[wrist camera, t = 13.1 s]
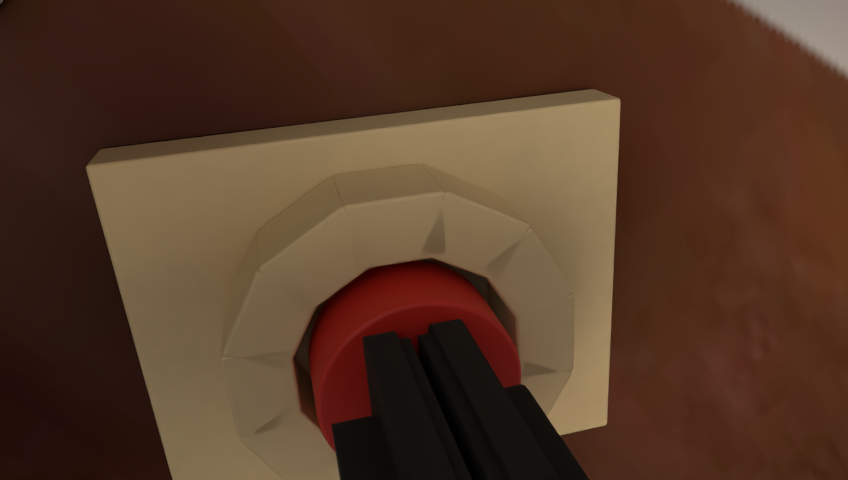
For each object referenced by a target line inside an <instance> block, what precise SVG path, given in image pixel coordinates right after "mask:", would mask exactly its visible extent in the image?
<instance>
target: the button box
mask: <svg viewBox="0 0 848 480" xmlns="http://www.w3.org/2000/svg"><path fill="white" fill-rule="evenodd" d="M620 105H621V101H620V99H619V98H616V97H614V96H611V95H608V94H606V93H603V92H600V91H597V90H595V89H589V90H581V91H572V92H564V93H556V94H548V95H540V96H532V97H523V98H515V99H507V100H499V101H491V102H482V103H474V104H466V105H458V106H450V107H442V108H433V109H425V110H417V111H409V112H401V113H392V114H384V115H376V116H368V117H360V118H351V119H343V120H335V121H327V122H319V123H311V124H302V125H294V126H286V127H278V128H270V129H261V130H253V131H245V132H237V133H229V134H220V135H212V136H204V137H196V138H188V139H180V140H171V141H163V142H155V143H147V144H139V145H130V146H122V147H114V148H106V149H101V150H99V151H98V152H97V154H96V155H95V156H94V157H93V158H92V160H91V161H90V162H89V163H88V164H87V166H86V171H87V175H88V178H89V182H90V185H91V189H92V193H93V196H94V200H95V203H96V207H97V210H98V214H99V218H100V221H101V225H102V228H103V232H104V236H105V239H106V243H107V246H108V250H109V253H110V257H111V261H112V264H113V268H114V271H115V275H116V279H117V282H118V286H119V289H120V293H121V297H122V300H123V304H124V307H125V311H126V314H127V318H128V322H129V325H130V329H131V332H132V336H133V340H134V343H135V347H136V350H137V354H138V357H139V361H140V365H141V368H142V372H143V375H144V379H145V383H146V386H147V390H148V393H149V397H150V401H151V404H152V408H153V411H154V415H155V418H156V422H157V426H158V429H159V433H160V436H161V440H162V444H163V447H164V451H165V454H166V458H167V462H168V465H169V469H170V472H171V476H172V479H173V480H340V477H339V471H338V464H337V458H336V453H335V451H334V450H333V449H332V448H331V447H330V446H329V444H328V442H327V441H326V439H325V438H324V436H323V434H322V431H321V429H320V427H319V423H318V419H317V414H316V407H315V400H314V393H313V386H312V379H311V372H310V365H309V342H310V338H311V333H312V330H313V327H314V325H315V322H316V320H317V318H318V316H319V314H320V312H321V310H322V309H323V308H324V306H325V305H326V303H327V302H328V301H329V299H330V298H331V297H332V296H333V295H334V294H335V293H336V292H337V291H339V290H340V289H341V288H343V287H344V286H346V285H347V284H348V283H350V282H351V281H352V280H354V279H355V278H356V277H358V276H359V275H360V274H362V273H364V272H366V271H368V270H370V269H373V268H375V267H378V266H385V265H391V264H397V263H403V262H409V261H422V262H428V263H434V264H437V265H441V266H444V267H447V268H449V269H451V270H453V271H455V272H457V273H459V274H460V275H462V276H463V277H465V278H466V279H467V280H468V281H469V282H471V283H472V284H473V285H474V286H475V288H476V289H477V290H478V291H479V292H480V294H481V295H482V296H483V298H484V299H485V301H486V302H487V304H488V305H489V307H490V308H491V309H492V311H493V312H494V314H495V315H496V317H497V318H498V320H499V321H500V322H501V324H502V325H503V327H504V328H505V330H506V331H507V333H508V334H509V336H510V337H511V339H512V341H513V342H514V345H515V347H516V349H517V352H518V355H519V359H520V364H521V384H522V385H525V386H526V387H527V388H528V389H529V391H530V392H531V394H532V395H533V397H534V398H535V400H536V401H537V403H538V404H539V406H540V407H541V409H542V410H543V411H544V413H545V414H546V416H547V417H548V419H549V420H550V422H551V423H552V425H553V426H554V428H555V429H556V431H557V432H558V434H559V435H564V434H569V433H573V432H578V431H582V430H587V429H591V428H596V427H600V426H605V425H606V424H607V410H608V387H609V363H610V340H611V316H612V293H613V269H614V246H615V222H616V199H617V176H618V152H619V129H620Z"/></svg>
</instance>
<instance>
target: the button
mask: <svg viewBox="0 0 848 480" xmlns="http://www.w3.org/2000/svg"><path fill="white" fill-rule="evenodd" d="M455 319H462V321H463V322H464V324H465V325H466V327H467V328H468V330H469V332H470V333H471V335H472V337H473V338H474V340H475V342H476V343H477V345H478V346H479V348H480V350H481V351H482V353H483V355H484V356H485V358H486V359H487V361H488V363H489V364H490V366H491V368H492V369H493V371H494V372H495V374H496V376H497V377H498V379H499V381H500V382H501V384H502V386H503V387H504V388H505V387H510V386H515V385H519V384H521V364H520V359H519V355H518V352H517V349H516V347H515V345H514V342H513V341H512V339H511V337H510V336H509V334H508V333H507V331H506V330H505V328H504V327H503V325H502V324H501V322H500V321H499V320H498V318H497V317H496V315H495V314H494V312H493V311H492V309H491V308H490V307H489V305H488V304H487V302H486V301H485V299H484V298H483V296H482V295H481V294H480V292H479V291H478V290H477V289H476V288H475V286H474V285H473V284H472V283H471V282H469V281H468V280H467V279H466V278H465V277H463V276H462V275H460V274H459V273H457V272H455V271H453V270H451V269H449V268H447V267H444V266H441V265H437V264H434V263H428V262H422V261H409V262H403V263H397V264H391V265H385V266H378V267H375V268H373V269H370V270H368V271H366V272H364V273H362V274H360V275H359V276H358V277H356V278H355V279H354V280H352V281H351V282H350V283H348V284H347V285H346V286H344V287H343V288H341V289H340V290H339V291H337V292H336V293H335V294H334V295H333V296H332V297H331V298H330V299H329V301H328V302H327V303H326V305H325V306H324V308H323V309H322V310H321V312H320V314H319V316H318V318H317V320H316V322H315V325H314V327H313V330H312V333H311V338H310V342H309V365H310V372H311V379H312V386H313V393H314V400H315V407H316V414H317V419H318V423H319V427H320V429H321V431H322V434H323V436H324V438H325V439H326V441H327V442H328V444H329V446H330V447H331V448H332V449H333V450H334V451H335V445H334V439H333V432H332V424H334V423H339V422H344V421H348V420H353V419H358V418H363V417H367V416H372V413H371V405H370V397H369V389H368V381H367V373H366V365H365V357H364V349H363V337H364V336H370V335H375V334H380V333H386V332H391V331H395V332H396V333H397V336H398V338H399V339H400V338H406V337H409V338H410V340H411V342H412V344H413V346H414V349H415V351H416V353H417V355H418V358H419V349H418V335H421V334H427V333H428V326H429V324H434V323H439V322H445V321H450V320H455ZM335 453H336V452H335Z"/></svg>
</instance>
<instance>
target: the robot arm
mask: <svg viewBox="0 0 848 480" xmlns="http://www.w3.org/2000/svg"><path fill="white" fill-rule="evenodd" d="M363 349H364V357H365V365H366V373H367V381H368V389H369V397H370V405H371V413H372V416H367V417H363V418H358V419H353V420H348V421H344V422H339V423H334V424H332V432H333V439H334V445H335V452H336V458H337V464H338V471H339V477H340V480H589V479H588V477H587V476H586V474H585V473H584V471H583V470H582V468H581V467H580V465H579V464H578V462H577V461H576V459H575V458H574V456H573V455H572V453H571V452H570V450H569V449H568V447H567V446H566V444H565V443H564V441H563V440H562V438H561V437H560V435H559V434H558V432H557V431H556V429H555V428H554V426H553V425H552V423H551V422H550V420H549V419H548V417H547V416H546V414H545V413H544V411H543V410H542V409H541V407H540V406H539V404H538V403H537V401H536V400H535V398H534V397H533V395H532V394H531V392H530V391H529V389H528V388H527V387H526V386H525V385H522V384H519V385H515V386H510V387H505V388H504V387H503V386H502V384H501V382H500V381H499V379H498V377H497V376H496V374H495V372H494V371H493V369H492V368H491V366H490V364H489V363H488V361H487V359H486V358H485V356H484V355H483V353H482V351H481V350H480V348H479V346H478V345H477V343H476V342H475V340H474V338H473V337H472V335H471V333H470V332H469V330H468V328H467V327H466V325H465V324H464V322H463V321H462V319H455V320H450V321H445V322H439V323H434V324H429V326H428V333H427V334H421V335H418V349H419V358H418V355H417V353H416V351H415V349H414V346H413V344H412V342H411V340H410V338H409V337H406V338H400V339H399V338H398V336H397V333H396V332H395V331H391V332H386V333H380V334H375V335H370V336H364V337H363Z"/></svg>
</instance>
